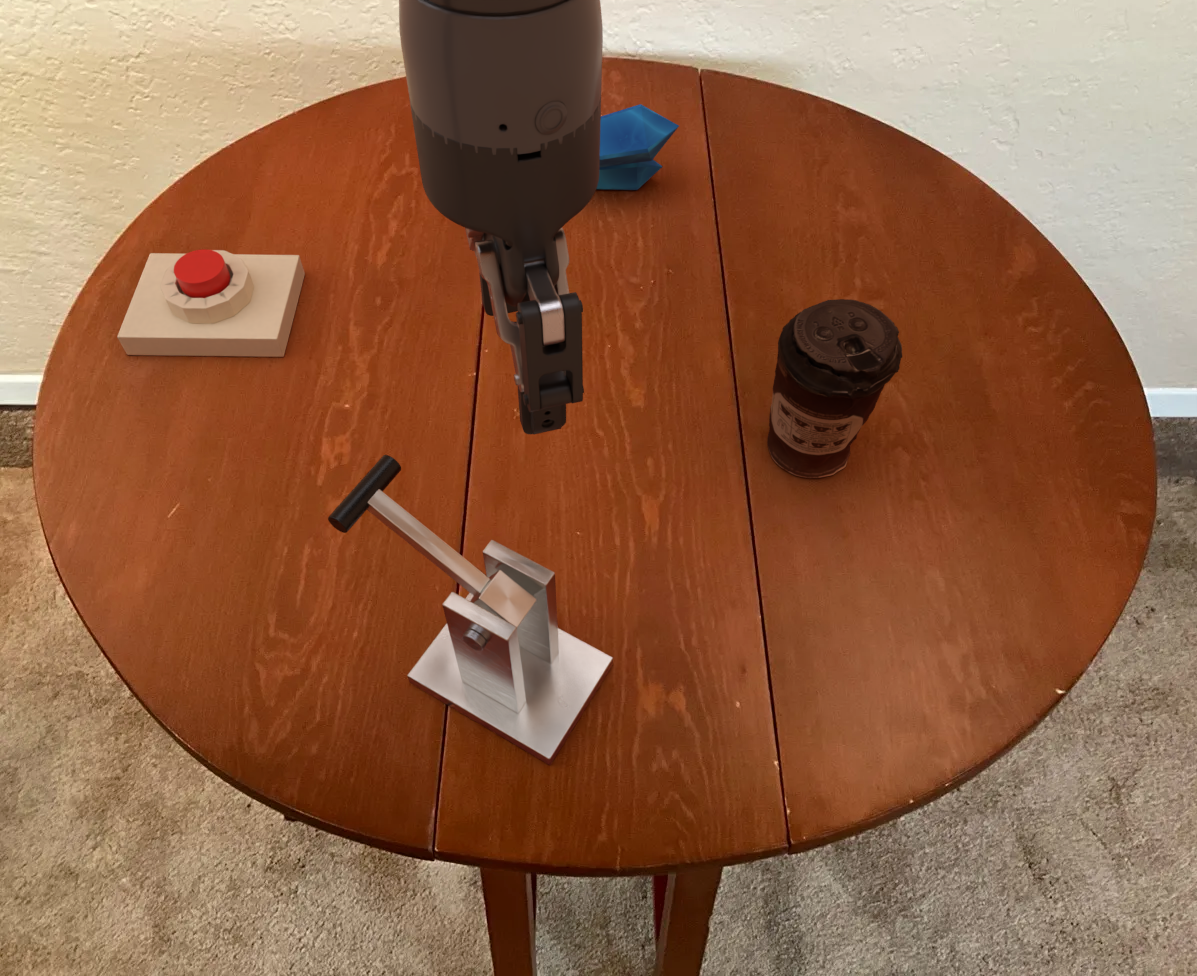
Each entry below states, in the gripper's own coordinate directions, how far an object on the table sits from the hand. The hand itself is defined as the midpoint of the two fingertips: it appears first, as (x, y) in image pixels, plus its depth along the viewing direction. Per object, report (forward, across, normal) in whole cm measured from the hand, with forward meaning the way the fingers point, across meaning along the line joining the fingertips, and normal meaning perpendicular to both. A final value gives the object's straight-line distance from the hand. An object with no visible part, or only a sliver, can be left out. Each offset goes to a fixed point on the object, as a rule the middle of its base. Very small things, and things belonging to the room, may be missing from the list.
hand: (522, 365), depth 51 cm
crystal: (+22, -40, +18) cm, 49 cm away
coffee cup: (+22, -5, +23) cm, 32 cm away
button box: (+22, -32, -20) cm, 44 cm away
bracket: (+22, +7, -3) cm, 23 cm away
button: (+18, -32, -20) cm, 42 cm away
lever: (+11, +4, -7) cm, 13 cm away
